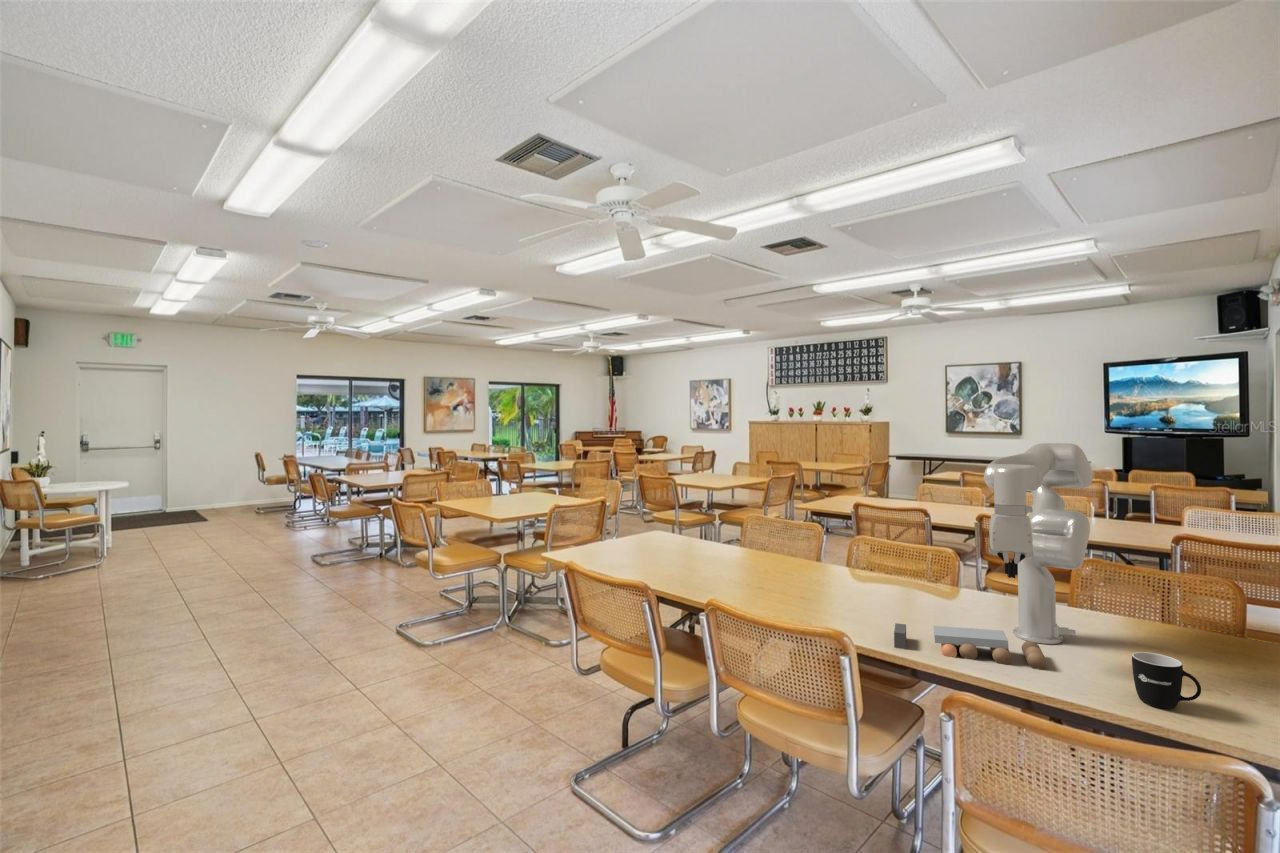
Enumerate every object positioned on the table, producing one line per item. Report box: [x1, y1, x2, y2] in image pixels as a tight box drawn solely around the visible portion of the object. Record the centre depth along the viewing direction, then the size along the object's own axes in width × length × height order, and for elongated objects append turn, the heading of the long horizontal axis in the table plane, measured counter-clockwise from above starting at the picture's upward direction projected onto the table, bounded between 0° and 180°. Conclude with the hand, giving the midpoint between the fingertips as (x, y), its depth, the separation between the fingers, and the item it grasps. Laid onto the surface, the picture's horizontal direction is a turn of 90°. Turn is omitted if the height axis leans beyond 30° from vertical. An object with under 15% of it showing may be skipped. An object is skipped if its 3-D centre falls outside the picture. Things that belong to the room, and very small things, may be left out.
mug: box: [1131, 651, 1202, 709], centre depth 137 cm, size 12×9×10 cm
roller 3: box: [1021, 640, 1048, 671], centre depth 162 cm, size 10×4×4 cm, turn 154°
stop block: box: [893, 622, 907, 650], centre depth 177 cm, size 3×9×5 cm, turn 154°
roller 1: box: [940, 643, 958, 658], centre depth 171 cm, size 10×4×4 cm
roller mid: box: [989, 647, 1012, 666], centre depth 166 cm, size 10×4×4 cm, turn 154°
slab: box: [933, 625, 1010, 650], centre depth 169 cm, size 18×9×2 cm, turn 65°
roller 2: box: [957, 643, 978, 661], centre depth 169 cm, size 10×4×4 cm, turn 154°
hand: (1011, 576), depth 165 cm, fingers closed
